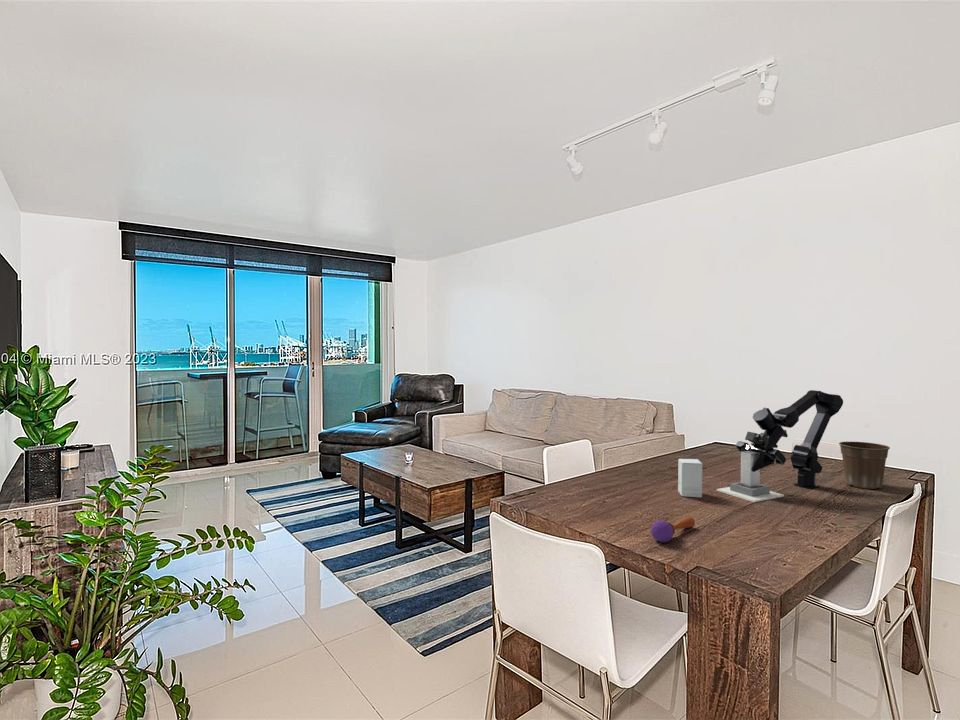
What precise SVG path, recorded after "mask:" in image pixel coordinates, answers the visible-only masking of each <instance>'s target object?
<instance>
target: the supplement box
mask: <svg viewBox="0 0 960 720" xmlns="http://www.w3.org/2000/svg"><path fill="white" fill-rule="evenodd" d="M677 469H678V471H677V473H678V476H677V479H678V481H677V492H678V493H679V494H680V496H681V497H685V498H686V497H688V498H692V497H693V498H702V497H703V463H702V461H700V459H696V458H695V459H694V458H678V465H677Z"/></svg>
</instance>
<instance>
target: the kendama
mask: <svg viewBox="0 0 960 720" xmlns="http://www.w3.org/2000/svg"><path fill="white" fill-rule="evenodd" d="M693 527H695V519H694V517H692V516H685V517H684V518H682V519H681V520H679V521H678V522H676V523H674V524H672V523H671V522H668V521H666V520H663V519H662V520H656V521H654V522H653V524H652V526H651V528H650V533H651V536H652V538H653V539H655V540H656V541H657V542H658V543H667V542H670V541H671V540H672V538H673V537H674V535H675V532H676V530H678V529H679V530H680V529H689V528H693Z"/></svg>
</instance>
